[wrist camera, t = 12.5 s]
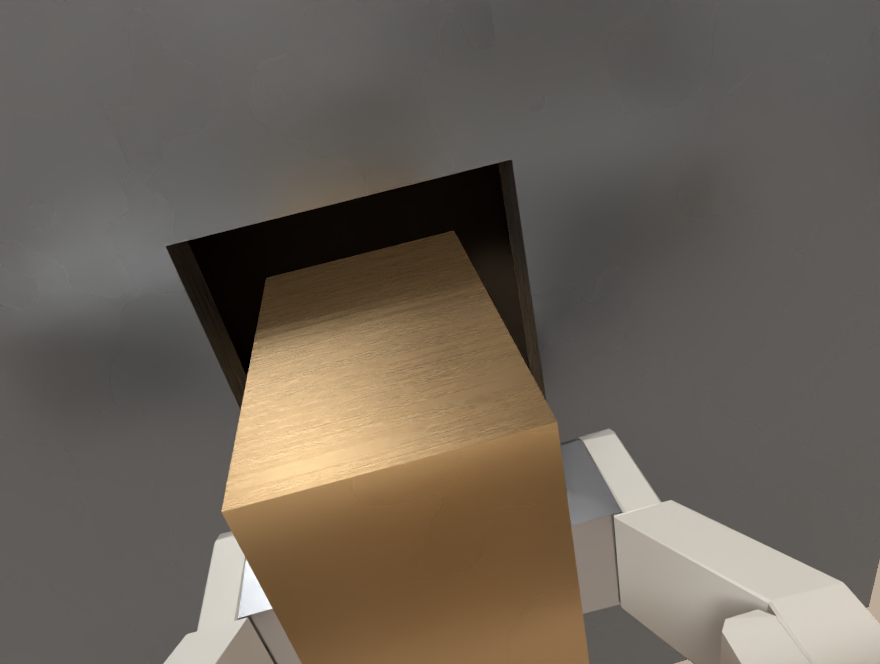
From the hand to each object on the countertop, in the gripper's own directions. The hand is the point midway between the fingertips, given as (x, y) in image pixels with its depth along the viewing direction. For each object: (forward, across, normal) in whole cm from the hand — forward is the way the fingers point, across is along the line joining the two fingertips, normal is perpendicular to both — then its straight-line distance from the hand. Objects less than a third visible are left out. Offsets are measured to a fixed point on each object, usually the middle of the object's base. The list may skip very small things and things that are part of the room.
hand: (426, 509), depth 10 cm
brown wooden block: (+2, 0, 0) cm, 2 cm away
